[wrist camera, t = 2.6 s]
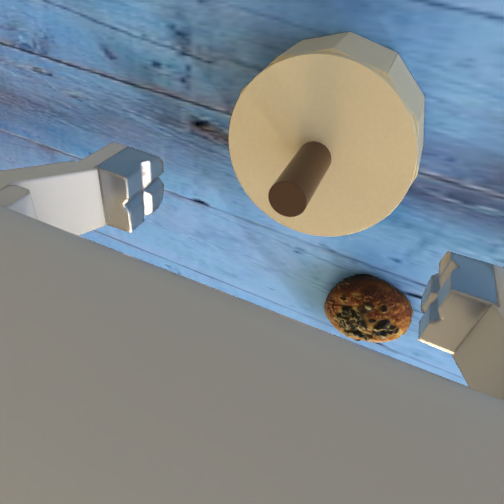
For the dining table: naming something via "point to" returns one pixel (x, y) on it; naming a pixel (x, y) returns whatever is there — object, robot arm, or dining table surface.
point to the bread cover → (329, 135)
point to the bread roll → (368, 309)
